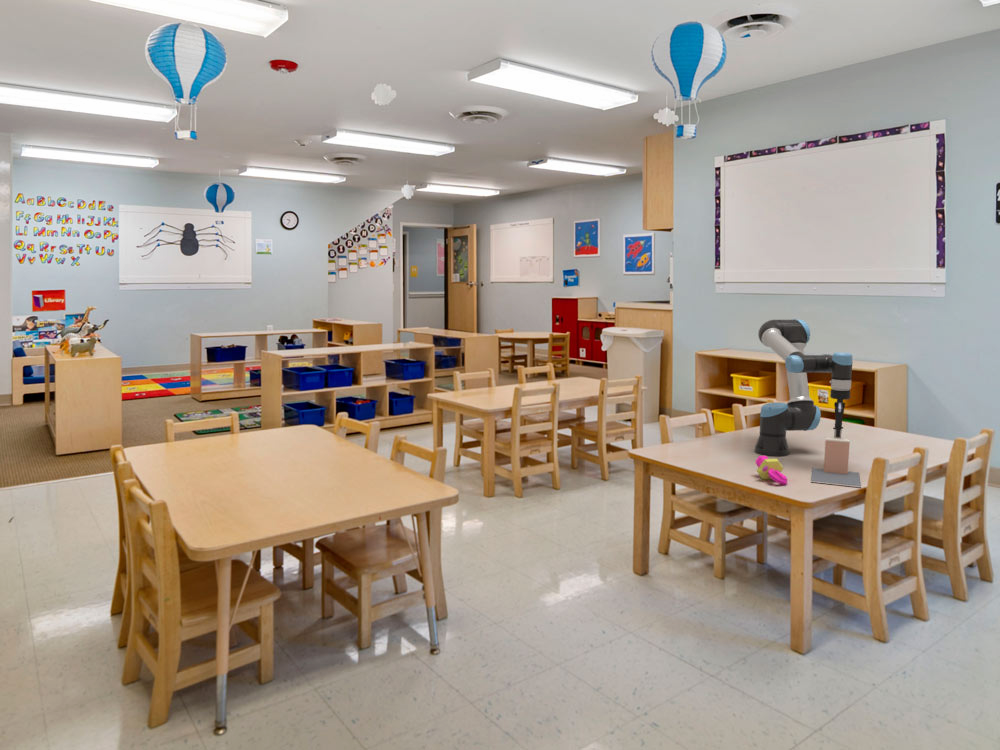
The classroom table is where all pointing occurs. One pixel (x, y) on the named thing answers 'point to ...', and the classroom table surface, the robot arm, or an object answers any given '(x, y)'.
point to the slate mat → (835, 478)
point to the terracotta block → (836, 455)
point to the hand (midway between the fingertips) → (837, 444)
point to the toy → (770, 469)
